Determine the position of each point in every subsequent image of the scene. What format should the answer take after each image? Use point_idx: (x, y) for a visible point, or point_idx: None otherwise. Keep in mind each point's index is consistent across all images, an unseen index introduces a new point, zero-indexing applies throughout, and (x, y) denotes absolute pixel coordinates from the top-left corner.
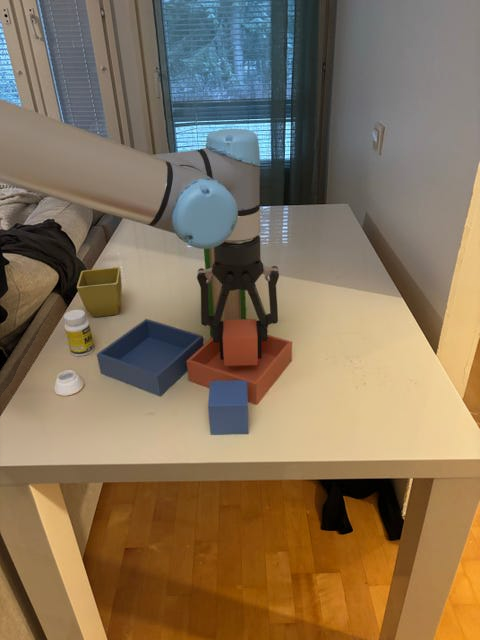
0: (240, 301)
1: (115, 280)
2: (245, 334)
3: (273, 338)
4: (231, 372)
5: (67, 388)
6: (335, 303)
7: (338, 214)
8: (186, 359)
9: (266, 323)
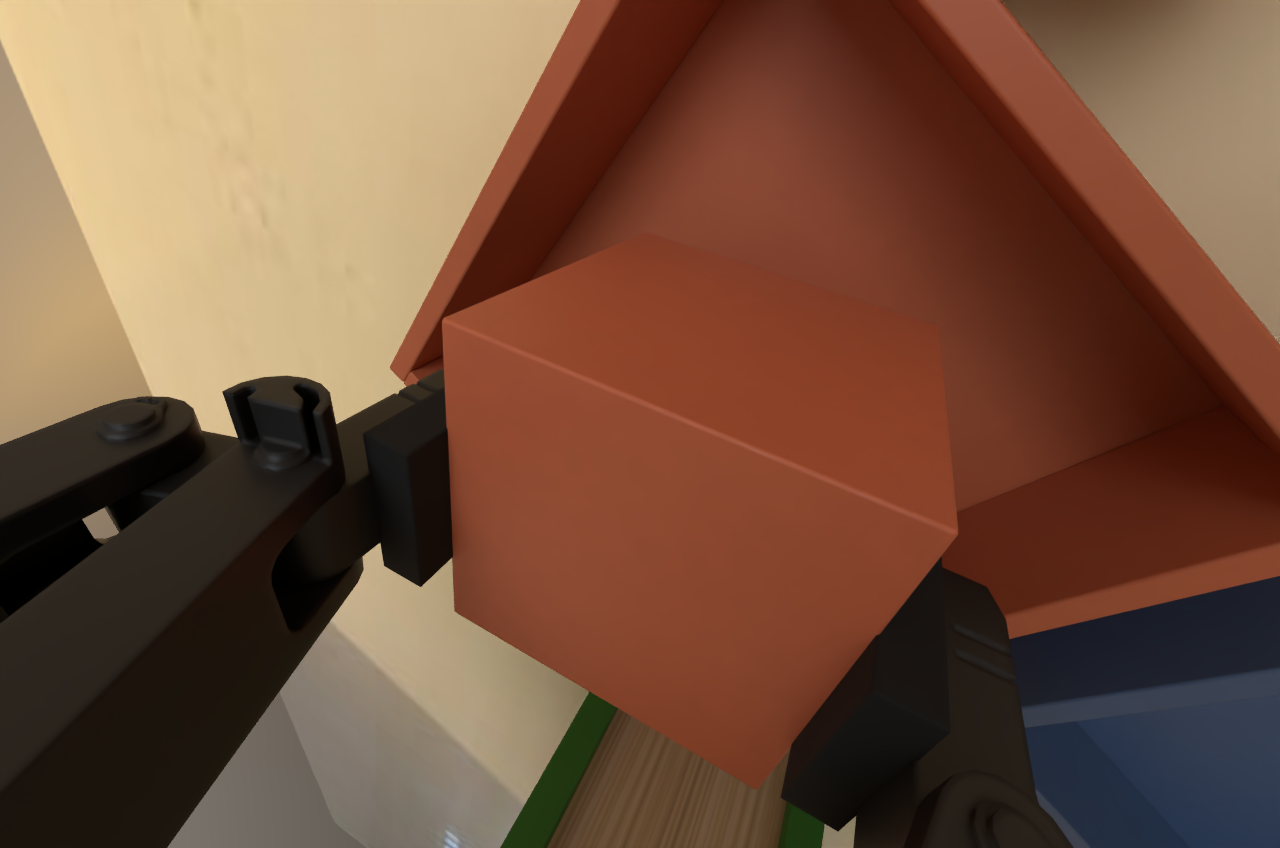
0: (563, 818)
1: None
2: (577, 443)
3: None
4: None
5: None
6: None
7: (341, 810)
8: (1235, 590)
9: (251, 446)
